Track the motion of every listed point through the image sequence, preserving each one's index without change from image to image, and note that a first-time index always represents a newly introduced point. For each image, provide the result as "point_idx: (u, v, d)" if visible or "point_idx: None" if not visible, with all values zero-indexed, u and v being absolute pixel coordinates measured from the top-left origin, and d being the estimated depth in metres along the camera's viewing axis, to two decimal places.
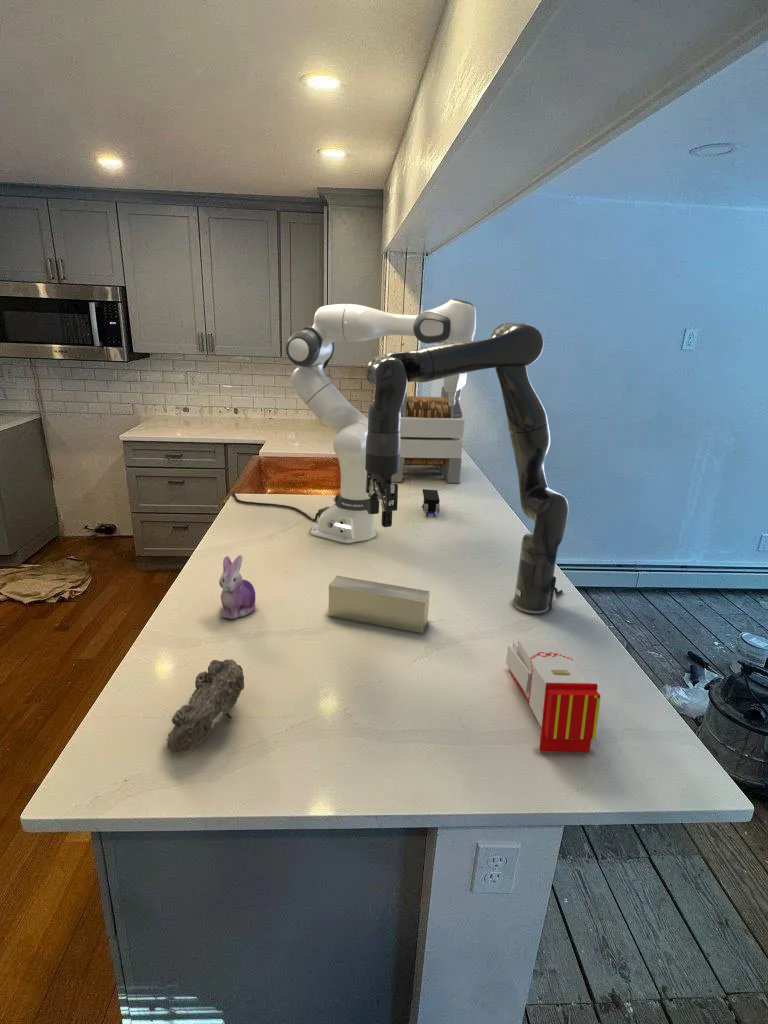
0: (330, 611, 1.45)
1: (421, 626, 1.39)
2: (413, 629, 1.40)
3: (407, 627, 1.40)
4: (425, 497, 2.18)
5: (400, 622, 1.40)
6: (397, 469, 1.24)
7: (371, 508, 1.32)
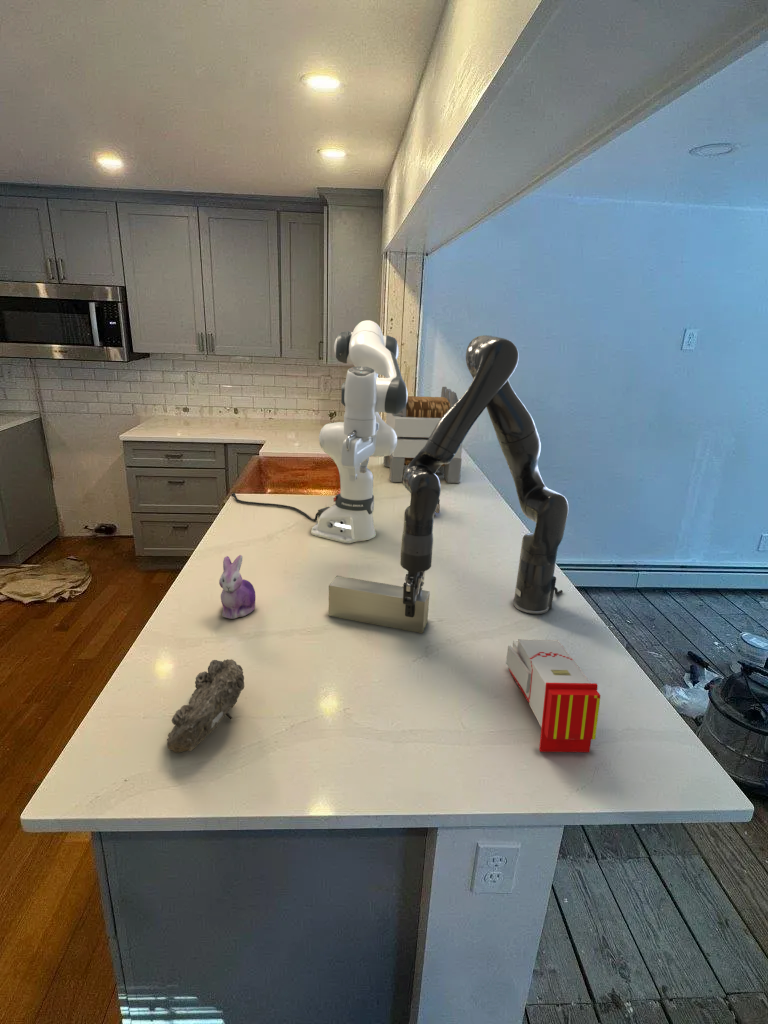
0: (330, 611, 1.45)
1: (421, 626, 1.39)
2: (413, 629, 1.40)
3: (407, 627, 1.40)
4: None
5: (400, 622, 1.40)
6: (423, 568, 1.34)
7: None
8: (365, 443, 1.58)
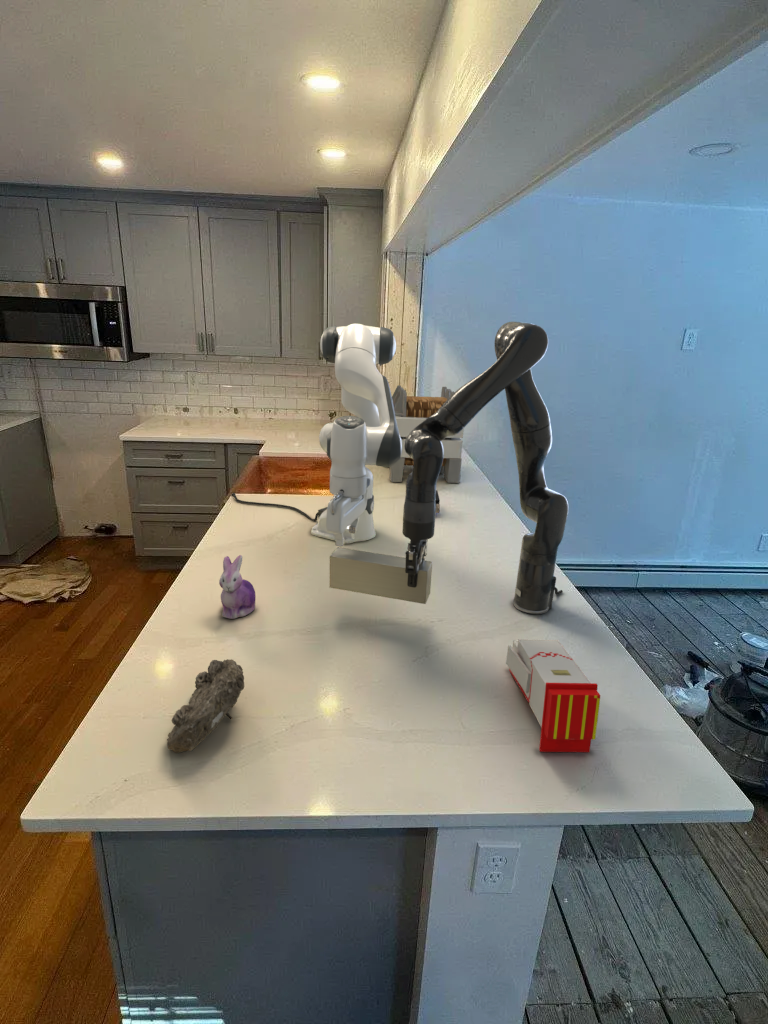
0: (331, 583, 1.42)
1: (424, 596, 1.36)
2: (415, 600, 1.37)
3: (409, 598, 1.37)
4: None
5: (402, 593, 1.37)
6: (426, 536, 1.31)
7: None
8: (354, 502, 1.38)
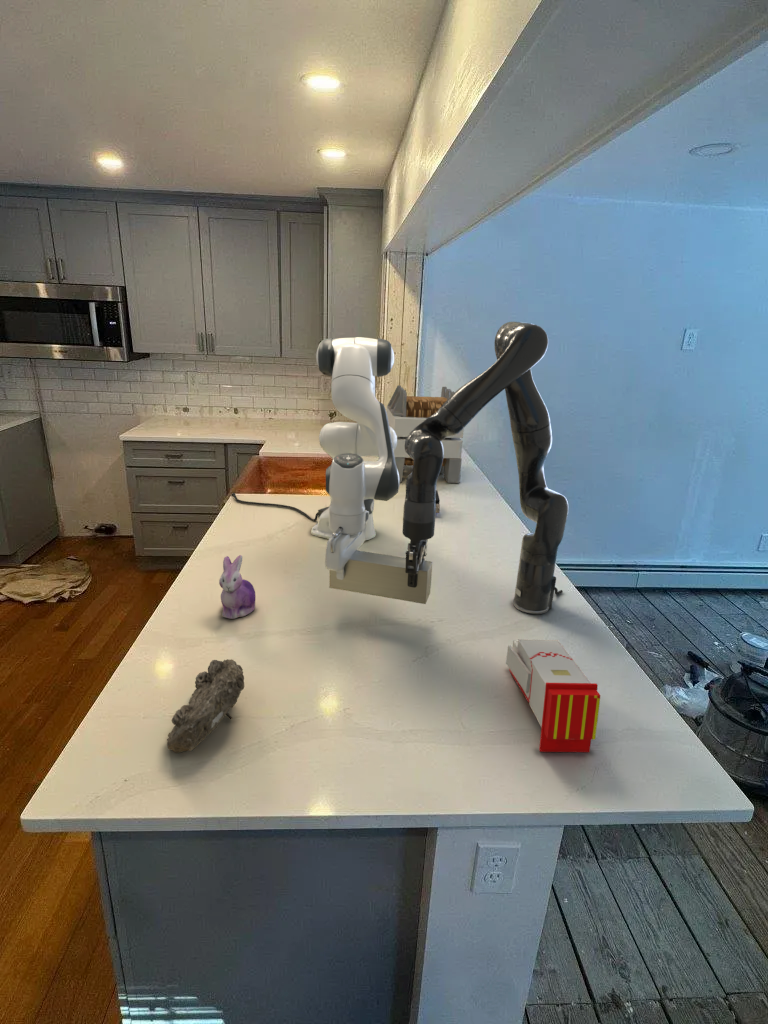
0: (331, 583, 1.42)
1: (424, 596, 1.36)
2: (416, 600, 1.37)
3: (409, 598, 1.37)
4: None
5: (402, 593, 1.37)
6: (426, 536, 1.31)
7: None
8: None
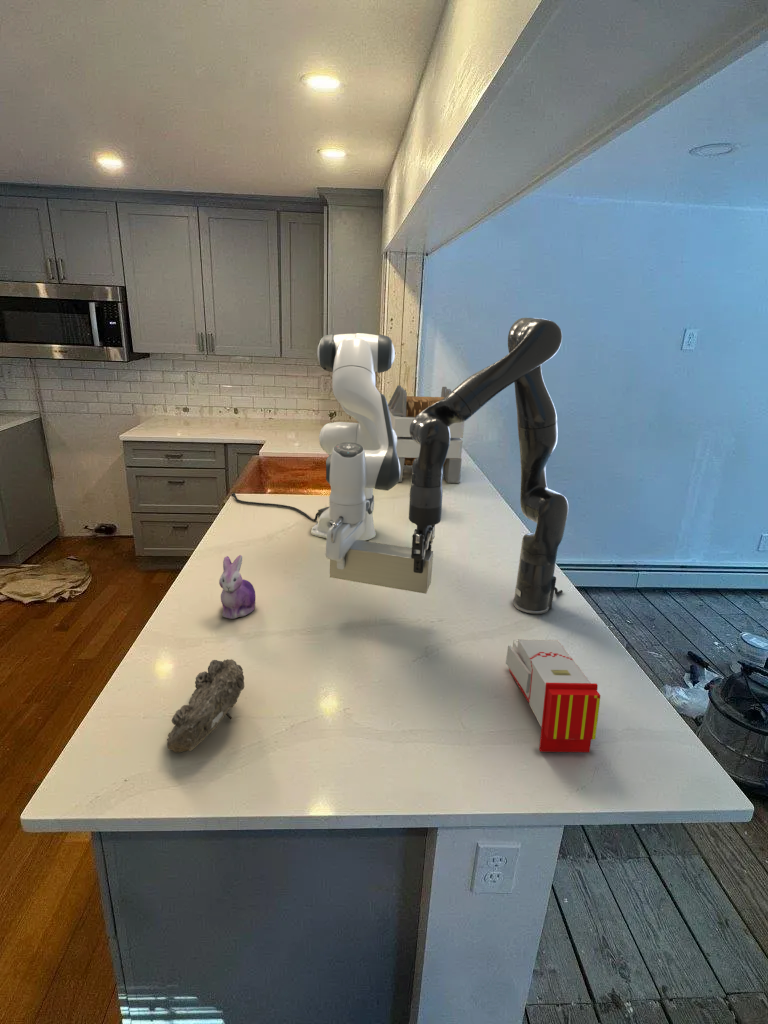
0: (331, 573, 1.41)
1: (425, 586, 1.35)
2: (416, 589, 1.36)
3: (410, 588, 1.37)
4: None
5: (403, 583, 1.37)
6: (433, 521, 1.29)
7: None
8: (354, 526, 1.40)
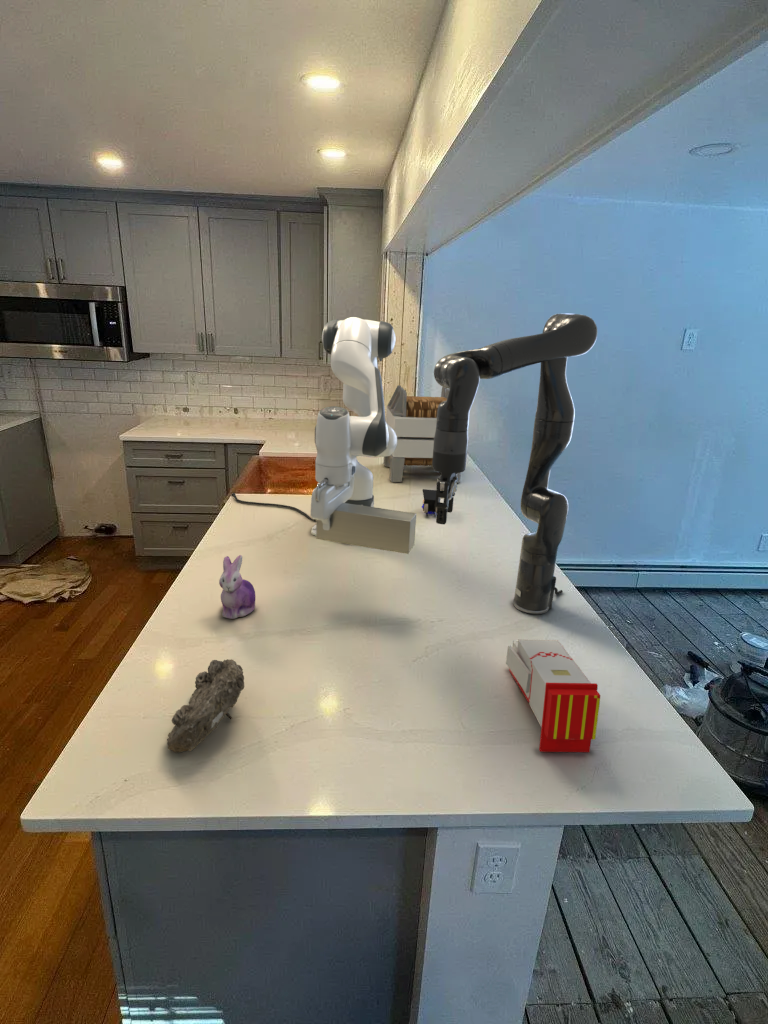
0: (318, 534, 1.46)
1: (407, 547, 1.39)
2: (399, 550, 1.40)
3: (393, 548, 1.41)
4: (425, 497, 2.18)
5: (386, 543, 1.41)
6: (458, 469, 1.24)
7: None
8: (339, 489, 1.44)
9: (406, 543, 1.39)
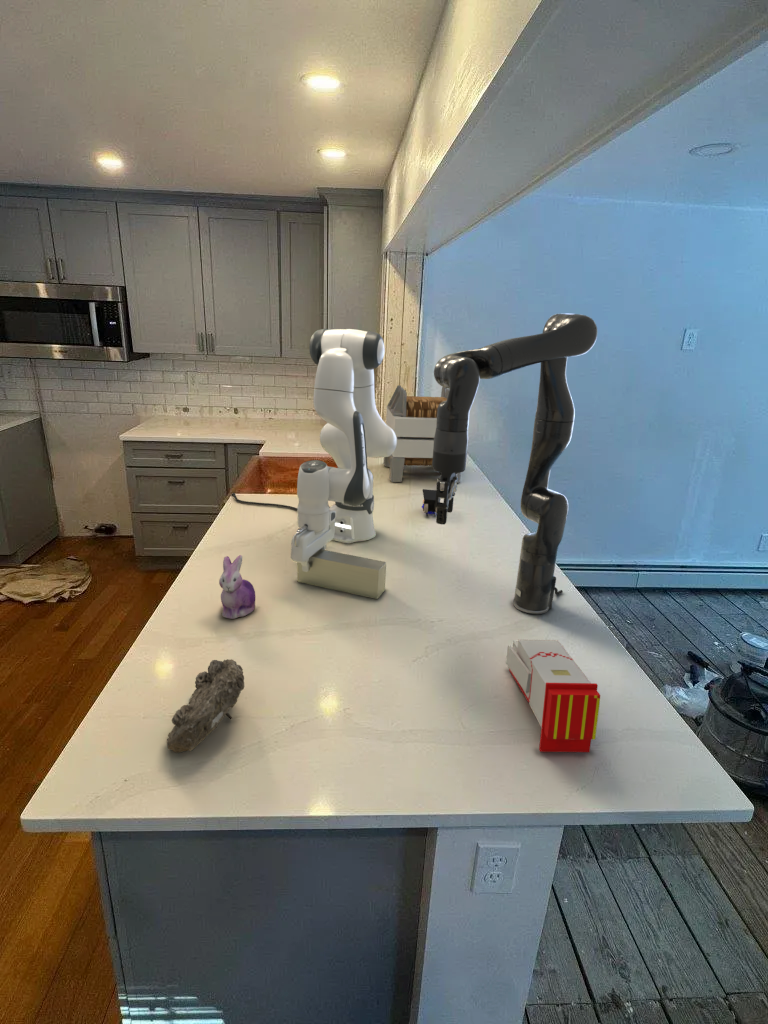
0: (298, 577, 1.62)
1: (376, 592, 1.54)
2: (369, 595, 1.55)
3: (364, 593, 1.55)
4: (425, 497, 2.18)
5: (358, 589, 1.56)
6: (458, 469, 1.24)
7: None
8: (319, 533, 1.59)
9: (375, 589, 1.54)
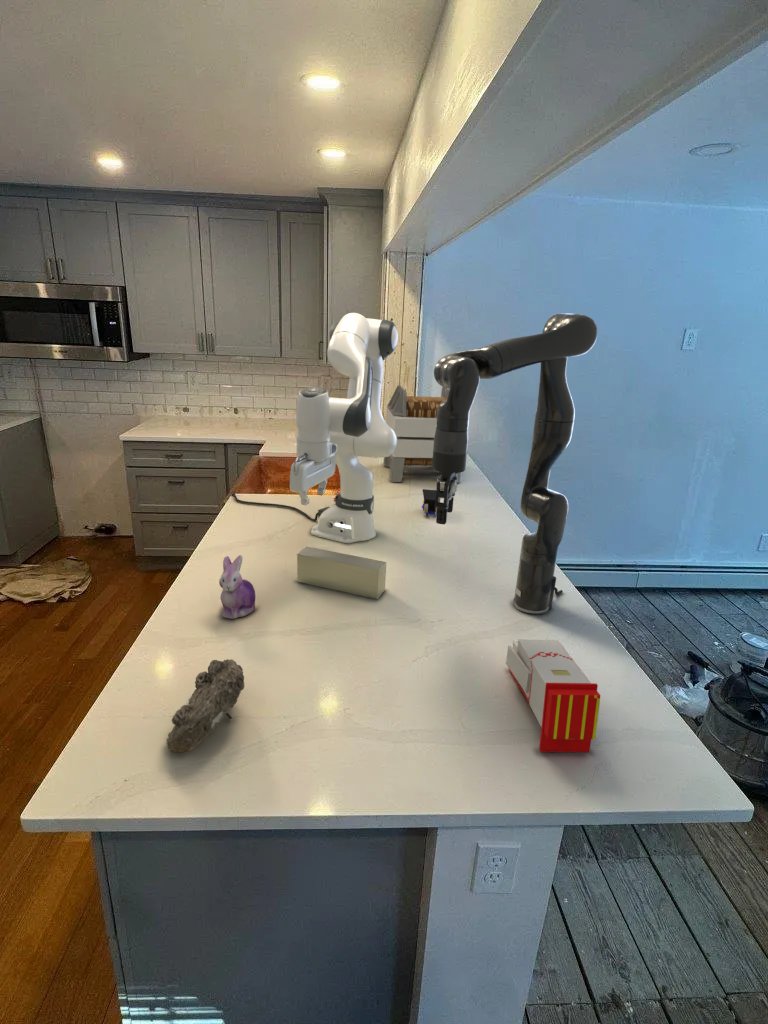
0: (298, 577, 1.62)
1: (376, 592, 1.54)
2: (369, 595, 1.55)
3: (364, 593, 1.55)
4: (425, 497, 2.18)
5: (358, 589, 1.56)
6: (458, 469, 1.24)
7: None
8: (320, 465, 1.52)
9: (375, 589, 1.54)
